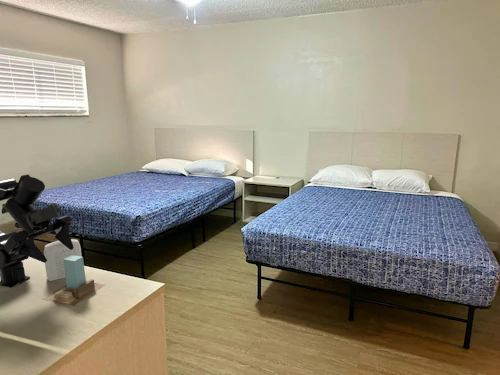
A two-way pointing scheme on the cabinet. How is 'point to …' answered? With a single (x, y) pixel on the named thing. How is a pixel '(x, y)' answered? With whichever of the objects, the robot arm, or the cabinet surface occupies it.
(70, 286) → the teal rectangular block
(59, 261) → the photo printer
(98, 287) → the rack
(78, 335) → the cabinet surface
